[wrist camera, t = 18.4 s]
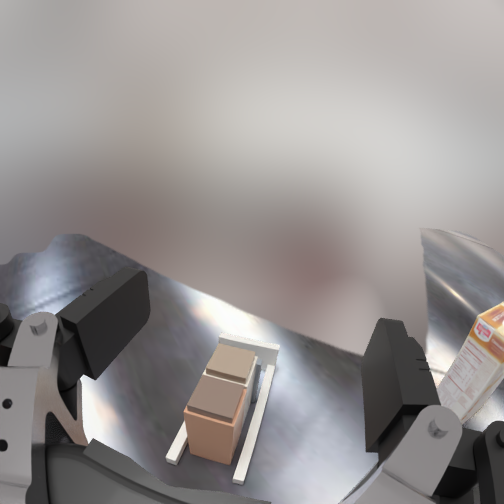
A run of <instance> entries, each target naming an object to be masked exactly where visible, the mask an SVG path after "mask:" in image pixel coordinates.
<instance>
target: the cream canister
mask: <svg viewBox="0 0 504 504" xmlns="http://www.w3.org/2000/svg"><path fill="white" fill-rule="evenodd" d="M257 359H258V357H256V356H255V352H254V351H250V350H245V349H241V348H237V347H233V346H229V345H225V344H221V343H219V344H218V346H217V348H216V350H215V352H214V353H213V355H212V357H211V359H210V361H209V363H208V365H207V366H206V369H205V371H204V373H203V375H207V376H210V377H214V378H217V379H221V380H225V381H229V382H233V383H237V384H241V385H244V389H246V390H247V393H246V401H245V408H244V415H243V422H242V428H243V425H244V422H245V419H246V416H247V413H248V410H249V407H250V402H251V396H252V390H253V384H254V378H255V371H256V365H257ZM241 430H242V429H241Z"/></svg>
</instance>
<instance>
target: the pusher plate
mask: <svg viewBox="0 0 504 504" xmlns="http://www.w3.org/2000/svg"><path fill="white" fill-rule="evenodd" d="M261 366H262V360H261V359H257V365H256V371H255V378H254V384H253V390H252V396H251V402H253V403H254V402H255V399H256V394H257V389H258V383H259V377H260V372H261Z"/></svg>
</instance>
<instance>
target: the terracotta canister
mask: <svg viewBox="0 0 504 504" xmlns="http://www.w3.org/2000/svg"><path fill="white" fill-rule="evenodd" d="M246 393H247V390H246V389H244V385H241V384H237V383H233V382H229V381H225V380H221V379H217V378H214V377H210V376H207V375H202V377H201V379H200V381H199V383H198V385H197V387H196V388H195V390H194V392H193V394H192V396H191V398H190V400H189V402H188V404H187V406H186V408H185V410H184V419H185V425H186V431H187V437H188V443H189V449H190V454H193V455H196V456H200V457H203V458H206V459H209V460H213V461H216V462H220V463H223V464H227V465H230V464H231V461H232V458H233V456H234V453H235V450H236V447H237V444H238V441H239V438H240V435H241V429H242V422H243V415H244V408H245V401H246Z"/></svg>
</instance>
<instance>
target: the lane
mask: <svg viewBox="0 0 504 504" xmlns="http://www.w3.org/2000/svg"><path fill="white" fill-rule="evenodd" d="M219 343H221V344H225V345H229V346H233V347H237V348H241V349H245V350H250V351H254V352H255V356H256V357H258V359H261V360H262V366H261V370H264V371H266V372H265V376H264V379H263V383H262V387H261V390H260V394H259V397H258V400H257V404H256V407H255V411H254V414H253V417H252V421H251V424H250V427H249V430H248V434H247V437H246V440H245V443H244V446H243V450H242V453H241V456H240V459H239V462H238V465H237V468H236V471H235V474H234V477H233V482H232V483H237V484H241V485H243V482H244V479H245V476H246V472H247V469H248V466H249V462H250V459H251V456H252V452H253V449H254V445H255V442H256V438H257V435H258V431H259V428H260V424H261V420H262V416H263V413H264V409H265V405H266V401H267V398H268V394H269V390H270V386H271V382H272V378H273V374H274V370H275V365H276V361H277V356H278V351H279V346H280V345H277V344H272V343H267V342H262V341H257V340H253V339H248V338H243V337H239V336H235V335H230V334H226V333H222V332H221V334H220V336H219ZM187 443H188V437H187V431H186V425H185V421H184V423H183V425H182V427H181V428H180V430H179V432H178V434H177V436H176V438H175V440H174V442H173V444H172V446H171V448H170V450H169V452H168V454H167V456H166V460H167V462H169V463H171V464H174V465H177V464H178V462H179V460H180V457H181V455H182V453H183V451H184V449H185V447H186V445H187Z"/></svg>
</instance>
